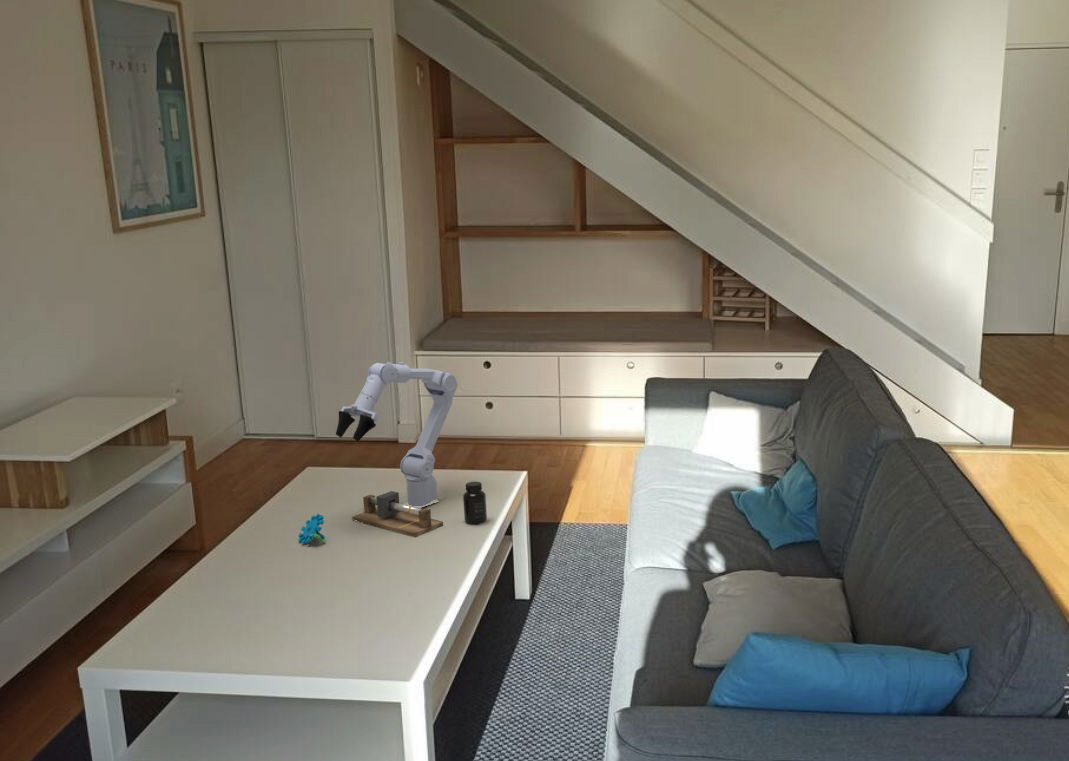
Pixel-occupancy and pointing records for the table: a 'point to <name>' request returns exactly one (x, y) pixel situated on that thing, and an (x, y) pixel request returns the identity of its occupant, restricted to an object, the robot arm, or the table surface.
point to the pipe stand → (398, 518)
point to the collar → (383, 504)
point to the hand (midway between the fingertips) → (346, 437)
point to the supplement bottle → (474, 504)
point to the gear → (312, 530)
